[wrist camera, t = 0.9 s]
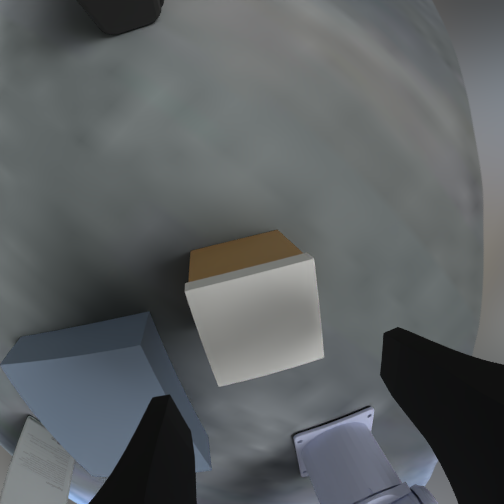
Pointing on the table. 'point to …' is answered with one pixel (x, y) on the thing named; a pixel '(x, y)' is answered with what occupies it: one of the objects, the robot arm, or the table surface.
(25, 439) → the skincare box
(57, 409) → the box
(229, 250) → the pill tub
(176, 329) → the table surface
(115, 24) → the card reader
